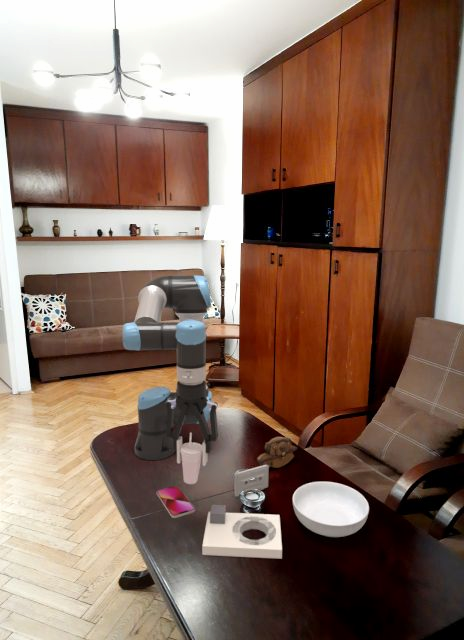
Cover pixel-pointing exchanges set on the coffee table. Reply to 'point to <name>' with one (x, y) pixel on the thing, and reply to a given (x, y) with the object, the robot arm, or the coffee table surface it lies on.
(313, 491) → the serving bowl
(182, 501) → the smartphone
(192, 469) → the smoothie
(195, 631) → the coffee table surface
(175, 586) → the coffee table surface
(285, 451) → the wooden carving
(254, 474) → the cassette
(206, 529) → the dock plate
